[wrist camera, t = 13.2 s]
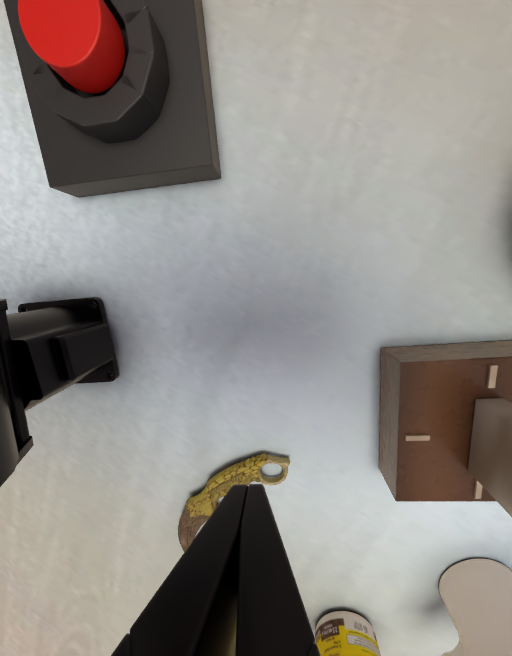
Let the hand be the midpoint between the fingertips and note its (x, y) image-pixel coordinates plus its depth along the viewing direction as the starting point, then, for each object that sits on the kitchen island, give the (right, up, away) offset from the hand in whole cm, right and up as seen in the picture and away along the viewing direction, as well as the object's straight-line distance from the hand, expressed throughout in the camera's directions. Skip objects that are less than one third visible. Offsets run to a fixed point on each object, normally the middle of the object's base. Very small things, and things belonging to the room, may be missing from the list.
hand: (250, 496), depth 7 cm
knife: (-3, -10, +15) cm, 18 cm away
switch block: (-7, +19, +9) cm, 22 cm away
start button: (-8, +18, +5) cm, 20 cm away
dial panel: (+14, -1, +11) cm, 18 cm away
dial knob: (+14, -2, +8) cm, 17 cm away
